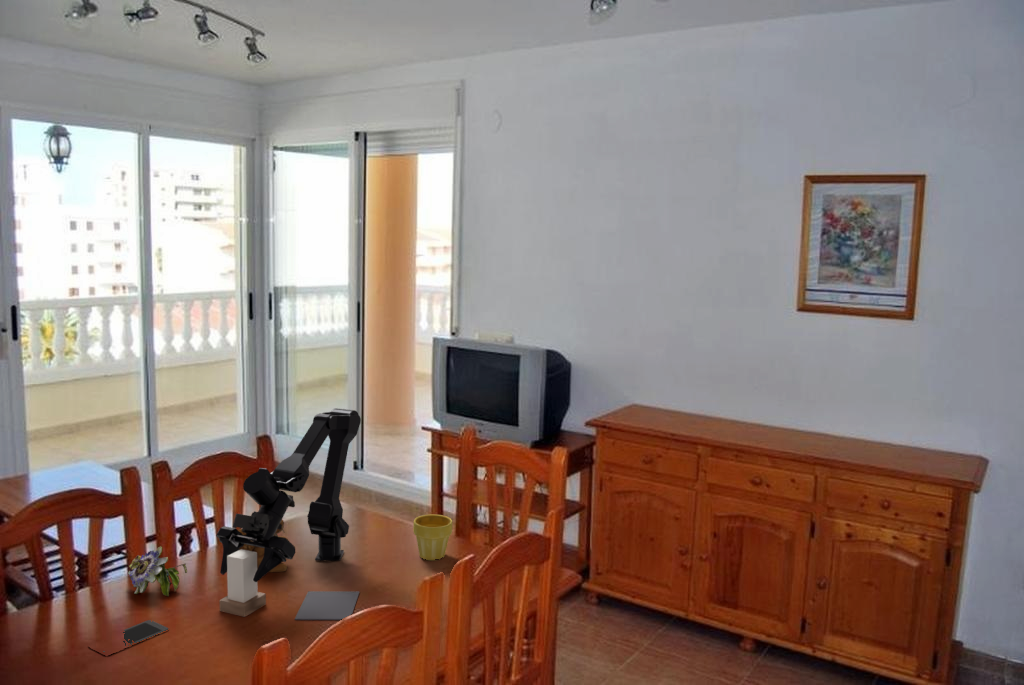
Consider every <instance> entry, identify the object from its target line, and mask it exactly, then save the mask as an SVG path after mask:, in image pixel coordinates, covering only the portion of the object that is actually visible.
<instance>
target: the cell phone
mask: <svg viewBox="0 0 1024 685" xmlns="http://www.w3.org/2000/svg"><path fill="white" fill-rule="evenodd" d="M168 629H169V630H170V628H168V627H167V626H164V625H163V624H161V623H158V622H156V621H154V620H152V622H151V619H150V620H149V619H148V620H144V621H143V622H140V623H138V624H135V625H132V626H130V627H128V628H125V629H123V630H124V631H125V632H123V633H125V634H124V639H125V640H126V641H127V642H128V643H130V644H131V645H132V643H133V642H132V640H133V641H134V643H137V642H140V641H142V640H144V639H147V638H149V637H152V636H154V635H156V634H158V633H161V632H163V631H166V630H168ZM169 630H168V631H169ZM128 639H130V640H129V641H128ZM123 642H124V643H125V641H123ZM125 646H126V643H125ZM128 646H129V645H128ZM103 652H105V651H103Z"/></svg>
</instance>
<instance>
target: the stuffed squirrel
mask: <svg viewBox="0 0 1024 685" xmlns="http://www.w3.org/2000/svg"><path fill="white" fill-rule="evenodd" d="M280 524H281V525H282V528H281V530H279V529H277V530H276V532H275V534H274V536H278V537H283V538H286V539H287V540H288V541H289V542H290V540H289V539H288V537H286V536H284V535H283V536H282V535H278V534H280V533H281V532H282V533H283V534H284V533H285V529H284V526H285V522H284V520H283V519H282V520H281V522H280ZM237 530H238V531H239V532H240V533H241V534H242V535H246V533H244V532H242V531H241V530H242V528H239V529H237ZM239 549H243V550H248V551H253V552H257V569H258V567H259V565H260V563H261V561H262V559H263V557H264V548H261V547H256V546H251V545H246V544H244V546H243V547H241V548H239ZM287 568H288V566H287V564H285V562H282V563H280V564H279V565H277V566H276V567H275V568H273V569H272V570H271V571H269V572H268V573H279V572H280V573H281V572H283V573H284V572H286V571H287V570H288V569H287Z"/></svg>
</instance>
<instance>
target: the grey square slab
mask: <svg viewBox="0 0 1024 685" xmlns="http://www.w3.org/2000/svg"><path fill="white" fill-rule="evenodd" d="M266 596H267V593H264V592H260V591H258V595H256V596H255V597H253V598H251V599H250V600H248V601H246V602H244V603H243V602H238V601H234V600H230V599H228V595H227V596H224V597H223V598H221V599H219V612H224V613H227V614H231V615H235V616H240V617H244V618H245V617H247V616H248V615H251V614H252V613H254V612H255V611H257V610H259V609H260V608H263V607H264V606H266V604H267V597H266Z"/></svg>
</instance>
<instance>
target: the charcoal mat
mask: <svg viewBox="0 0 1024 685" xmlns="http://www.w3.org/2000/svg"><path fill="white" fill-rule="evenodd" d="M359 595H360V591H357V590H355V591H351V590H350V591H341V590H340V591H337V590H335V591H334V590H333V591H331V590H330V591H327V590H326V591H323V590H322V591H317V590H315V591H313V590H312V591H307V594H306V595H305V597H304V599H303V601H302V604H301V605H300V608H299V609H298V611H297V613H296V615H295V617H294V620H295V621H342V620H341V619H343V618H345V617H347V616H349V615H351V614H352V615H353V612H354V610H355V607H356V604H357V601H358V598H359Z"/></svg>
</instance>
